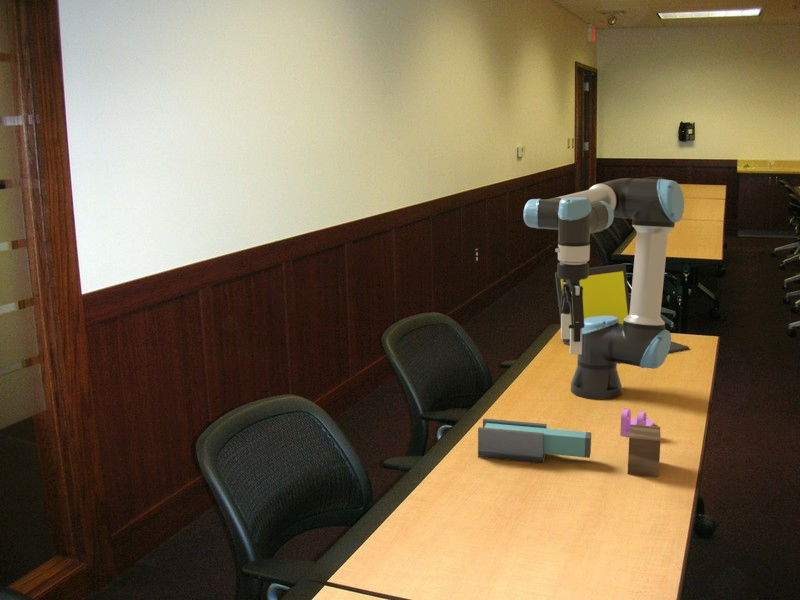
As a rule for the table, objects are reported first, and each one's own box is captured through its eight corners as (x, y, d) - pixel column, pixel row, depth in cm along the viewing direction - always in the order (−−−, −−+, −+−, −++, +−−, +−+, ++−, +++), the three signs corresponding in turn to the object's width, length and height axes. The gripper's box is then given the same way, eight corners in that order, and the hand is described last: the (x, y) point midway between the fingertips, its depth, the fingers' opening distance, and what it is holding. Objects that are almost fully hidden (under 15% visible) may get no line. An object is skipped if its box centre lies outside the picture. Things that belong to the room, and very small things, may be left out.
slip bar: (486, 441, 212) (486, 423, 210) (590, 451, 204) (591, 432, 203) (483, 447, 208) (483, 428, 207) (589, 457, 200) (590, 438, 199)
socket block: (628, 458, 204) (630, 424, 202) (658, 461, 202) (660, 426, 200) (627, 473, 196) (629, 438, 194) (658, 477, 194) (660, 440, 192)
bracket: (641, 440, 216) (642, 415, 215) (620, 436, 219) (621, 411, 218) (656, 424, 227) (657, 400, 225) (635, 420, 230) (637, 396, 228)
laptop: (617, 364, 281) (620, 288, 276) (553, 341, 312) (554, 272, 306) (689, 350, 296) (693, 278, 290) (621, 329, 327) (624, 263, 321)
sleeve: (483, 446, 214) (483, 418, 212) (546, 452, 209) (546, 424, 208) (477, 457, 207) (478, 428, 205) (542, 463, 202) (543, 434, 201)
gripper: (550, 253, 214) (548, 333, 218) (565, 271, 189) (563, 360, 194) (579, 252, 213) (577, 332, 218) (599, 271, 189) (596, 360, 194)
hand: (570, 346), depth 206 cm, fingers open, 13 cm apart
